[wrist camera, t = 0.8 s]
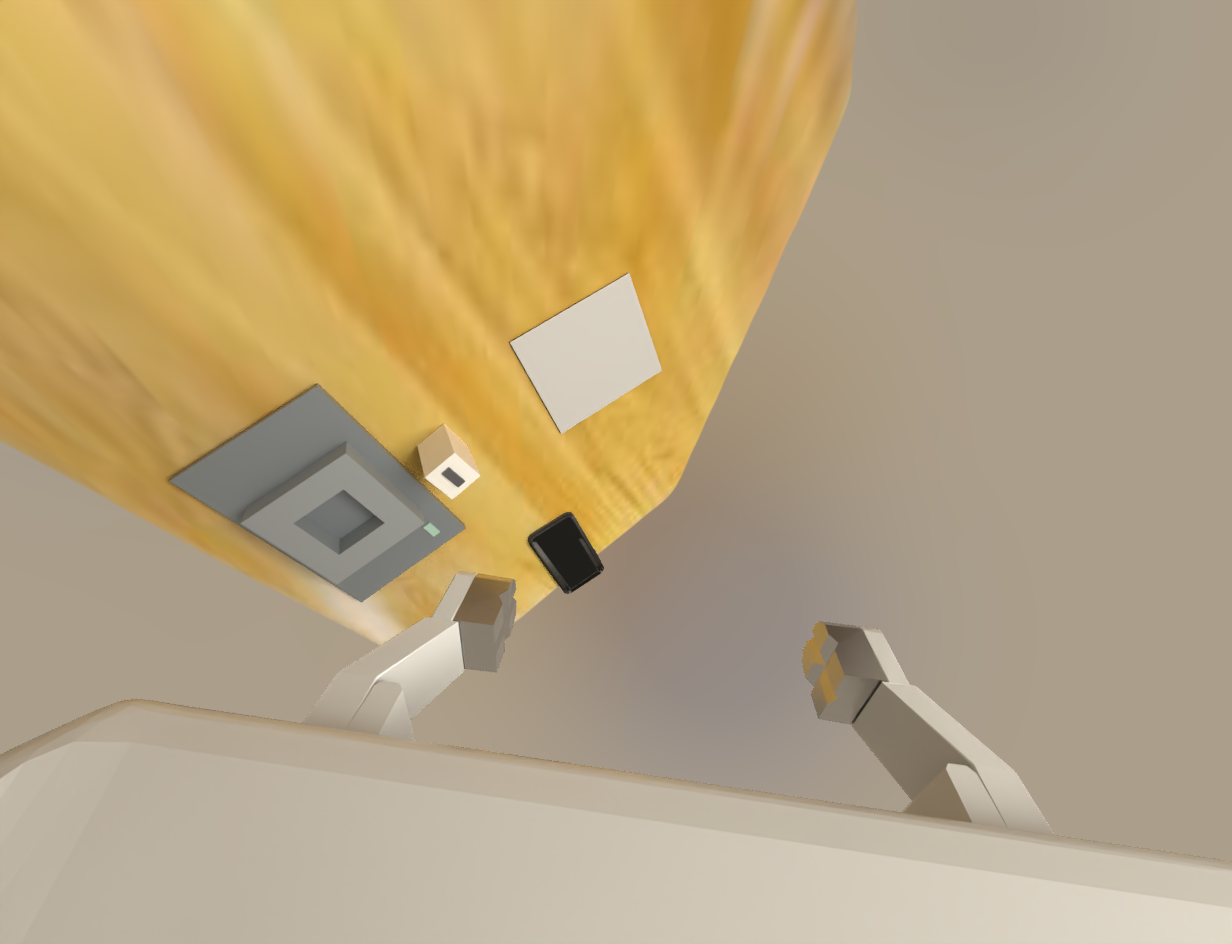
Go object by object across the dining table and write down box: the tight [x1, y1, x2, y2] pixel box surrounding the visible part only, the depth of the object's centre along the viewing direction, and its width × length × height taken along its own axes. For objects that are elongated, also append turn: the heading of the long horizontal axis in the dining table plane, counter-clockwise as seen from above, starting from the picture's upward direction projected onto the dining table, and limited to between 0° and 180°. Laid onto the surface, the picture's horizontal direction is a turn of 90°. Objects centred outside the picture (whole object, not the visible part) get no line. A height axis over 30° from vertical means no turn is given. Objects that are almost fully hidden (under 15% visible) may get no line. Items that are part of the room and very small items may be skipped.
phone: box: [528, 512, 604, 594], centre depth 71 cm, size 8×1×15 cm
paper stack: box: [510, 273, 662, 434], centre depth 59 cm, size 23×25×1 cm
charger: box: [417, 424, 480, 499], centre depth 50 cm, size 4×4×8 cm
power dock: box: [170, 383, 465, 602], centre depth 50 cm, size 24×16×4 cm, turn 26°
